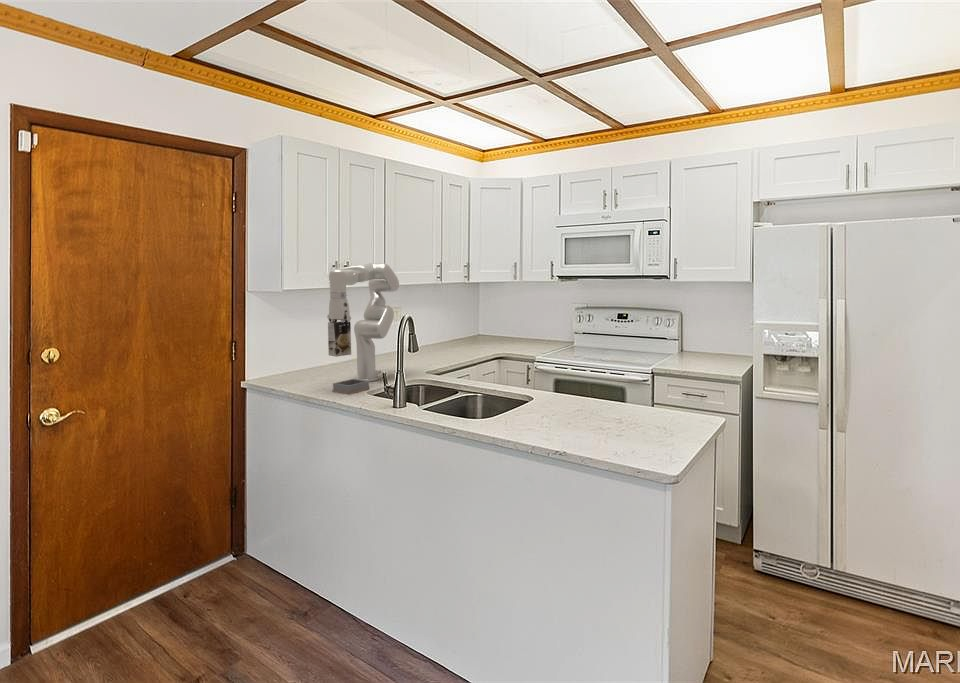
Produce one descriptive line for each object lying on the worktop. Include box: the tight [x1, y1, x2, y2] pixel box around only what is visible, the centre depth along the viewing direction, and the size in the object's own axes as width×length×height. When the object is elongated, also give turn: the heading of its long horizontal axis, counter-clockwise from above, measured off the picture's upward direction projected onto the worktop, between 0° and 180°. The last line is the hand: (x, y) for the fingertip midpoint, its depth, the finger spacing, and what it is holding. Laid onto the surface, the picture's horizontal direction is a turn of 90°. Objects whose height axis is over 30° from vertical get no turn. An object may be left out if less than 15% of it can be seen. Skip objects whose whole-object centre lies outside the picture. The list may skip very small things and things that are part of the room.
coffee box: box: [327, 321, 352, 358], centre depth 273 cm, size 9×6×16 cm
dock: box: [332, 378, 371, 395], centre depth 273 cm, size 14×11×4 cm
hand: (339, 333), depth 272 cm, fingers closed on coffee box, 6 cm apart
